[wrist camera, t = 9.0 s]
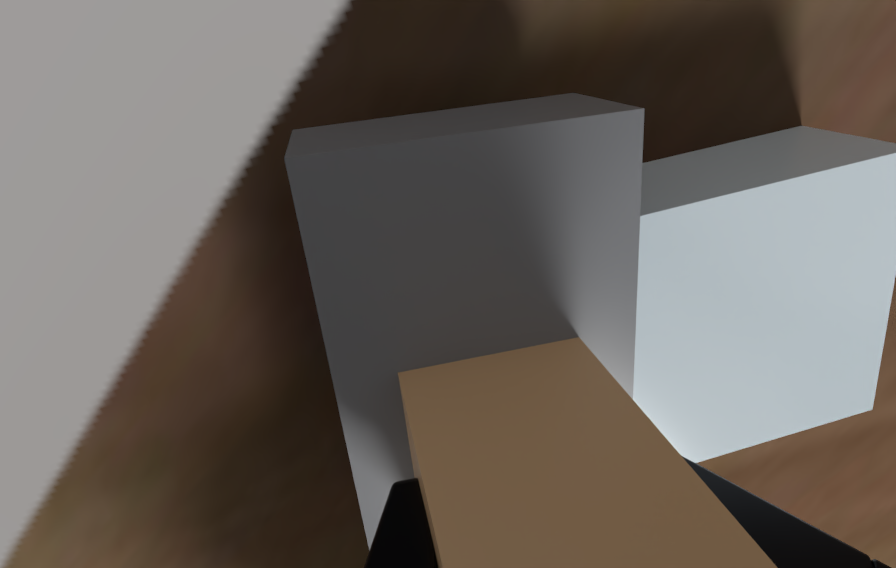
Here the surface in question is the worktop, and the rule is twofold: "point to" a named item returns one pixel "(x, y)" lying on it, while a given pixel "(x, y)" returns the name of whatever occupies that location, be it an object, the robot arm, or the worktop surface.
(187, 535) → the worktop surface
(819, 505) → the worktop surface
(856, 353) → the tile
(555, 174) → the tan block grey base
